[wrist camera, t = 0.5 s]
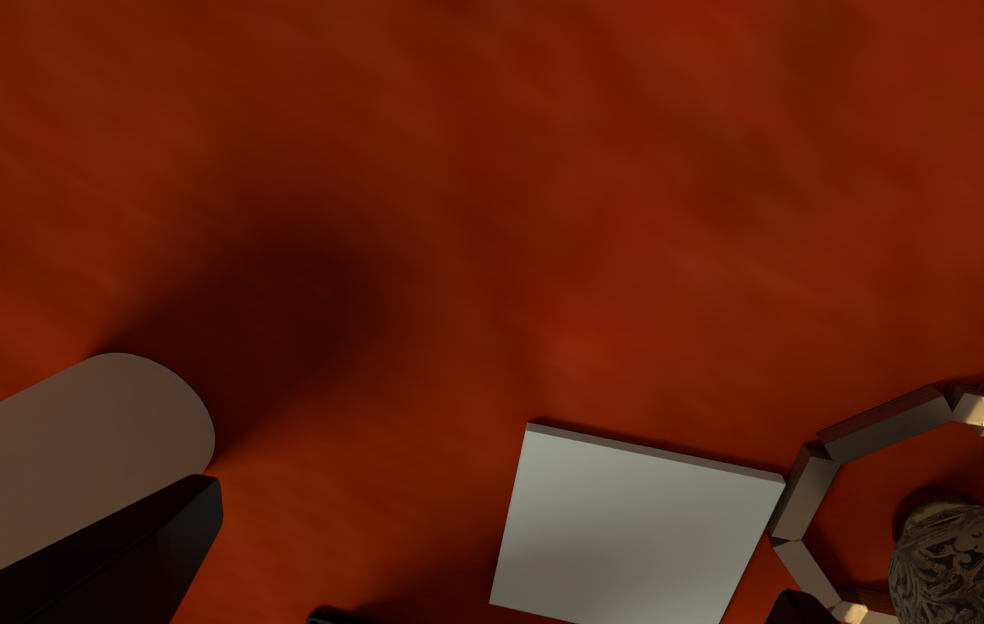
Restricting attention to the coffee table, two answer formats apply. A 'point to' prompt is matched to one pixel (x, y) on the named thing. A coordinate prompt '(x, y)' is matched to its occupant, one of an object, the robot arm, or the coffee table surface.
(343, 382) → the coffee table surface
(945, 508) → the cup
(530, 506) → the felt pad
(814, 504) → the ring
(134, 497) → the coffee cup
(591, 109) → the coffee table surface
